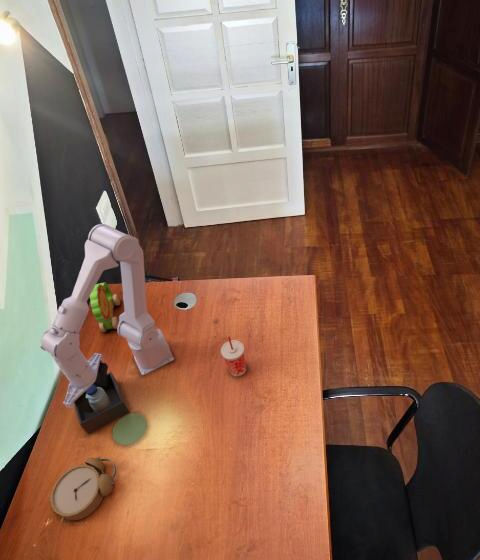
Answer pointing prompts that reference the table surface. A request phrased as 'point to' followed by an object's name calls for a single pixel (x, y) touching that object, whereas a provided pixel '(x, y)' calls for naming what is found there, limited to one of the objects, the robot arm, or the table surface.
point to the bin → (112, 413)
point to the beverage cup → (234, 357)
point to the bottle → (98, 399)
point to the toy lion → (104, 306)
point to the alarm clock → (81, 489)
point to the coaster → (129, 429)
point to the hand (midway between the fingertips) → (96, 397)
